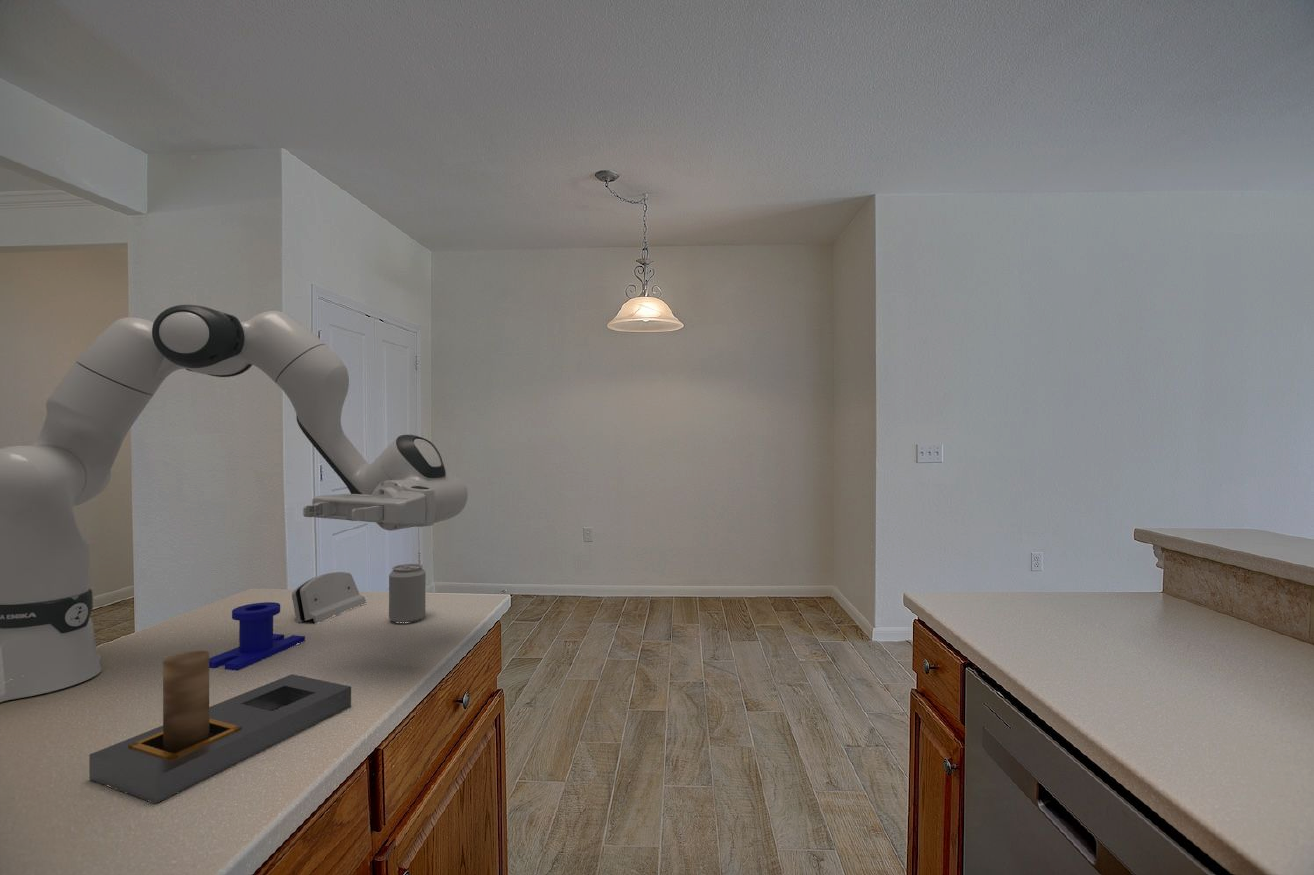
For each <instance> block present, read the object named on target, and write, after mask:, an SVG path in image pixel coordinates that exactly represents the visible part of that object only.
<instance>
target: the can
mask: <svg viewBox="0 0 1314 875" xmlns="http://www.w3.org/2000/svg"><path fill="white" fill-rule="evenodd" d="M426 578H427V577H426V570H424V569H423V565H422V564H420V563H404V564H398V565H394V566H392V571H391V572H390V573H389V575H388V619H389V620H390V621H392V622H393V623H394V622H399V623H400V622H402V623H403V622H404V623H405V622H414V623H417V622H419V621H421V620H422V619H423V618H424V617H425V616H426V586H427V585H426ZM421 618H422V619H421ZM420 619H421V620H420ZM418 620H419V621H418ZM416 621H417V622H416Z"/></svg>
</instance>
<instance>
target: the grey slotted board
mask: <svg viewBox="0 0 1314 875" xmlns="http://www.w3.org/2000/svg"><path fill="white" fill-rule="evenodd" d="M351 707H352V686H350V685H347V684H346V685H345V684H341V683H337V682H332V681H331V682H330V681H326V680H321V679H317V678H312V677H307V676H304V675H303V676H302V675H297V674H294V673H293V674H289V675H287V676H284V677H281V678H279V679H276V680H275V681H271V682H268V683H267V684H264V685H261V686H259V687H256V688H254V689H251V690H249V691H246V692H244V693H241V694H238V695H236V696H233V697H231V698H228V699H226V700H222V701H221V702H218V703H215V704H212V705H210V706H209V739H207V740H204V741H202V742H200V743H198V744H195V745H193V746H191V747H189V748H186V749H184V750H182V751H180V752H177V753H175V754H173V753H170V752H167V751H163V725H160V726H158V727H156V728H153V729H150V730H148V731H145V732H142V733H140V734H138V735H135V736H133V737H130V738H128V739H125V740H122V741H121V742H118V743H115V744H113V745H111V746H108V747H106V748H103V749H100V750H98V751H95V752H93V753H92V752H91V753H90V754H89V755H88V756H89V760H88V761H89V764H88V765H89V771H88V773H89V777H88V779H90V780H89V781H91V780H93V781H92V782H94V781H96V782H99V783H102V784H104V785H103V786H105V785H109V786H111V787H113V788H116V789H118V790H120V791H119V792H121V791H122V792H121V793H124V792H127V793H129V794H128V795H130V794H131V795H130V796H132V795H134V796H133V797H135V796H137V797H136V798H138V797H140V798H139V799H141V798H142V799H141V800H143V799H146V800H149V801H151V802H150V803H152V802H153V803H152V804H155V805H157V804H159V803H160V801H161V802H162V800H163V799H165V800H167V799H169V798H171V797H173V796H174V794H175V795H176V793H177V792H179V793H181V792H182V791H184V790H186V789H189V788H191V787H193V786H195V785H196V784H199V783H201V782H203V781H205V780H207V779H208V778H211V777H213V776H214V775H217V774H218V773H221V772H222V771H225V770H226V769H227V770H228V768H231V767H233V766H235V765H237V764H239V763H241V762H243V761H245V760H246V759H248V758H251V757H252V756H255V755H257V754H259V753H260V752H262V751H264V750H266V749H269V748H270V747H273V746H275V745H277V744H279V743H280V742H282V741H284V740H285V741H286V739H288V738H290V737H292V736H295V735H297V734H299V733H300V732H302V731H304V730H307V729H309V728H310V727H312V726H314V725H316V724H318V723H321V722H323V721H325V720H326V719H329V718H330V717H332V716H335V715H336V714H339V713H341V712H342V711H344V710H347V709H348V708H351ZM96 782H95V783H96ZM99 783H98V784H99ZM102 784H101V785H102ZM192 785H193V786H192ZM190 786H191V787H190ZM188 787H189V788H188ZM113 788H112V789H113ZM116 789H115V790H116ZM118 790H117V791H118ZM127 793H126V794H127ZM177 794H178V793H177ZM172 795H173V796H172ZM170 796H171V797H170ZM146 800H145V801H146ZM149 801H148V802H149ZM163 801H164V800H163ZM158 802H159V803H158ZM156 803H157V804H156Z"/></svg>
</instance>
